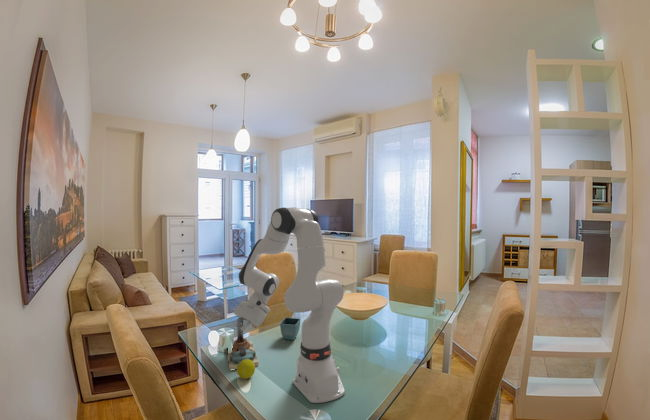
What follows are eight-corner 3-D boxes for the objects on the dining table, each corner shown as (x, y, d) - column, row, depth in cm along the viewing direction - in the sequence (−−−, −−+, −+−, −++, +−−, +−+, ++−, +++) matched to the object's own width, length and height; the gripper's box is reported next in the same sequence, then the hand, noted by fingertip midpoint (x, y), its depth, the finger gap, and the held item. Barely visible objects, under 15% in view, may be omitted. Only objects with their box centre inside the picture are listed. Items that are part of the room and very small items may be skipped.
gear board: (258, 365, 127) (258, 351, 127) (229, 371, 123) (229, 357, 123) (251, 343, 148) (251, 331, 148) (226, 348, 143) (226, 335, 143)
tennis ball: (243, 384, 114) (243, 366, 114) (233, 377, 119) (233, 360, 118) (258, 377, 119) (258, 360, 119) (248, 370, 124) (248, 354, 124)
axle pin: (243, 340, 139) (243, 319, 139) (237, 341, 138) (237, 320, 138) (243, 338, 142) (242, 317, 142) (237, 338, 141) (236, 318, 141)
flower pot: (296, 342, 149) (295, 325, 149) (279, 341, 151) (279, 323, 151) (300, 335, 158) (300, 318, 158) (285, 333, 160) (285, 317, 159)
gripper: (241, 295, 152) (224, 319, 145) (264, 304, 138) (246, 331, 131) (249, 301, 155) (232, 325, 148) (272, 311, 141) (255, 338, 134)
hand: (239, 328), depth 140 cm, fingers closed on axle pin, 3 cm apart
